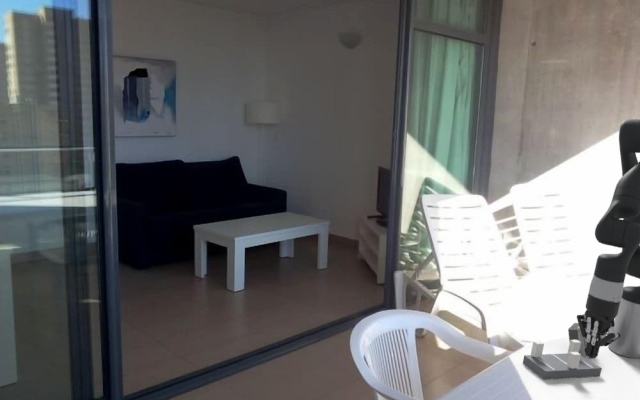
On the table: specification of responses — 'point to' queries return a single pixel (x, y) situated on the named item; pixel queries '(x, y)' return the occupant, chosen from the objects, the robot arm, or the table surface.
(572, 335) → the electrical switch
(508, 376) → the table surface
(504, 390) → the table surface
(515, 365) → the table surface
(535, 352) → the outer knob
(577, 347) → the inner knob
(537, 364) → the block
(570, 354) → the knob
